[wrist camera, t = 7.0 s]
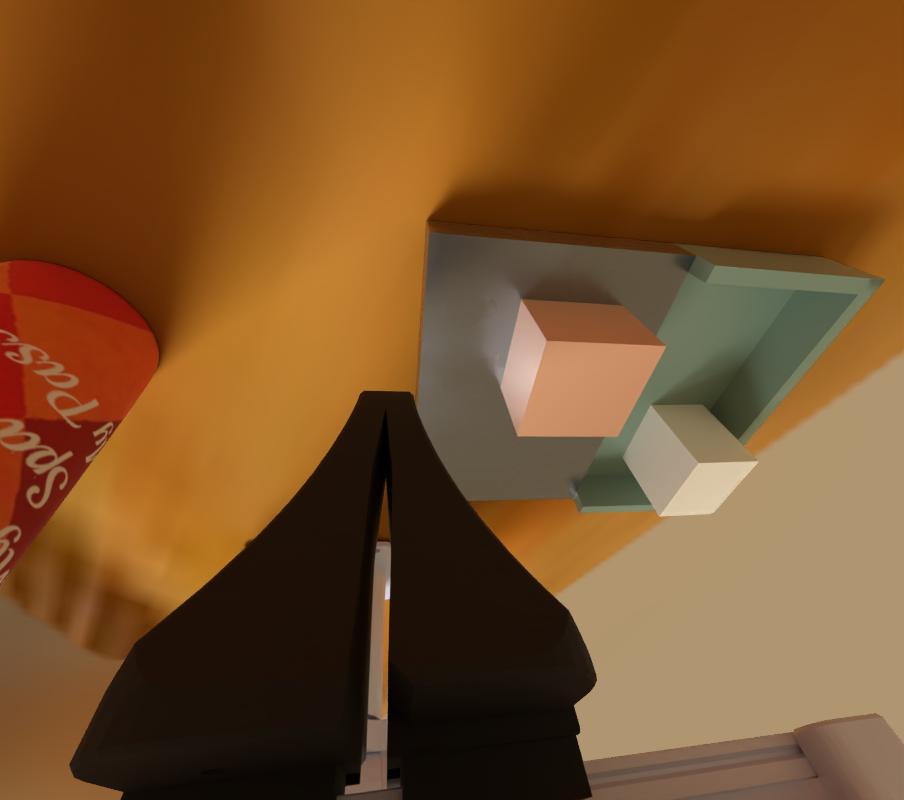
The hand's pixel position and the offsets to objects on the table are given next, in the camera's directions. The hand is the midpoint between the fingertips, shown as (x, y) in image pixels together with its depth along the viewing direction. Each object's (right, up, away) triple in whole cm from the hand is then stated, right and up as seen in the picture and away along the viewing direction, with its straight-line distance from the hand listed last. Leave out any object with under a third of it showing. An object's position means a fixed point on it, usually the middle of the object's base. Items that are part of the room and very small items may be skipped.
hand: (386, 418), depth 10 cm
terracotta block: (+6, +3, +4) cm, 8 cm away
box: (+13, +1, +9) cm, 16 cm away
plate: (+5, +1, +7) cm, 9 cm away
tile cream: (+12, -3, +8) cm, 15 cm away
